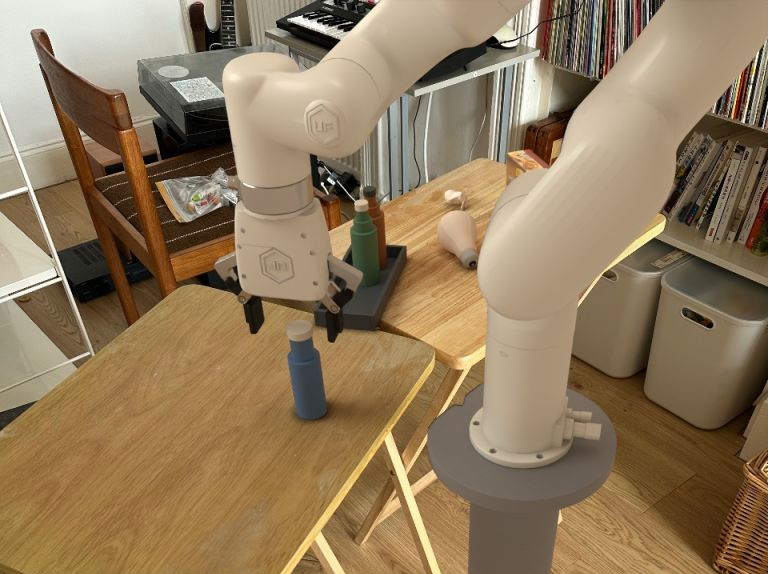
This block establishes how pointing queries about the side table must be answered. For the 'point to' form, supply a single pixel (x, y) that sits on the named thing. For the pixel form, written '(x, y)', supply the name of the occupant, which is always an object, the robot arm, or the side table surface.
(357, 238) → the green bottle
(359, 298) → the tray
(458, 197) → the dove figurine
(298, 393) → the blue bottle
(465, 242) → the light bulb
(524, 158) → the candy box
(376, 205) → the amber bottle
